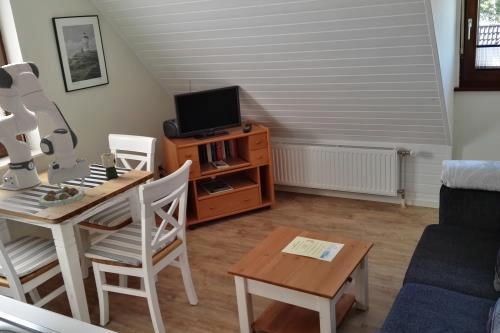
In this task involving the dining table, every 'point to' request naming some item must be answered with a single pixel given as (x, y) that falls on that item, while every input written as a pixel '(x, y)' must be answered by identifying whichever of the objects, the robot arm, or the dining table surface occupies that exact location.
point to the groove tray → (58, 202)
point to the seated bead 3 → (63, 196)
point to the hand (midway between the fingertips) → (72, 188)
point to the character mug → (109, 164)
